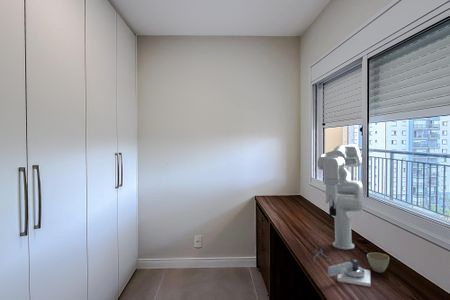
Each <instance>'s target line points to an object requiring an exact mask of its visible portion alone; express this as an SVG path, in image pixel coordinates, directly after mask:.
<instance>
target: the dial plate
mask: <svg viewBox="0 0 450 300" xmlns="http://www.w3.org/2000/svg"><path fill="white" fill-rule="evenodd" d="M363 269H364V277H361V278H353V277H350V276H347V275H346V274H345V273H342V274H339V275H337V279H336V280H337V282H339V283H348V284H353V285H358V286H359V285H360V286H365V287H371V270H370V269H365V268H363Z"/></svg>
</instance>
